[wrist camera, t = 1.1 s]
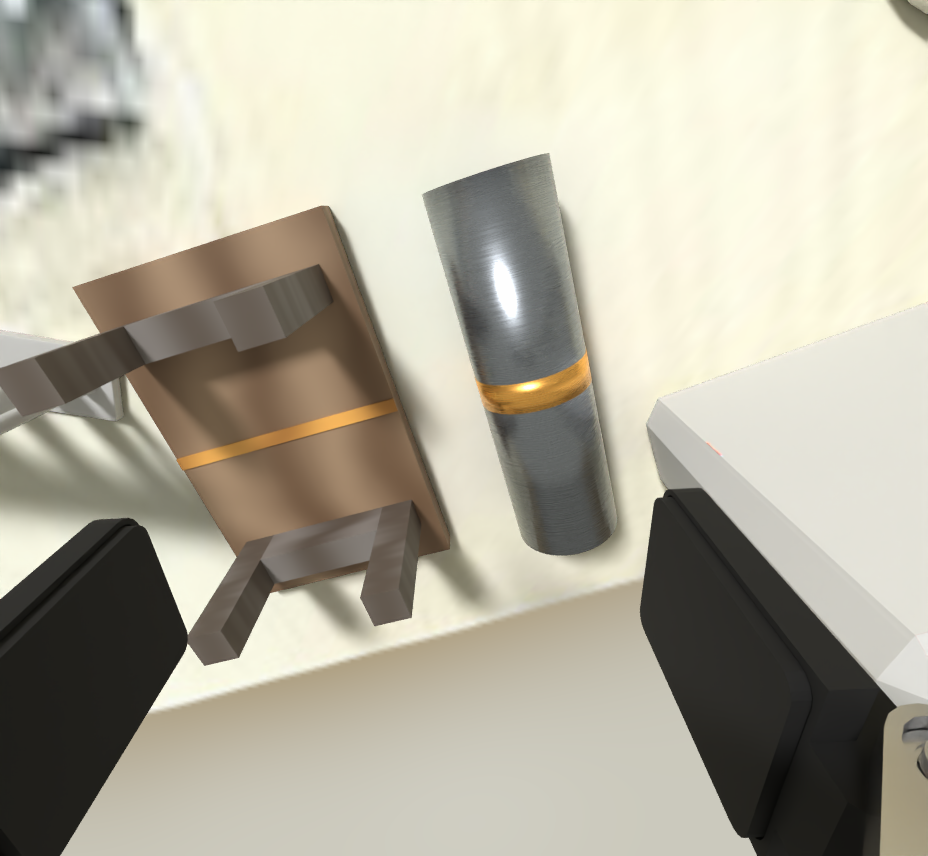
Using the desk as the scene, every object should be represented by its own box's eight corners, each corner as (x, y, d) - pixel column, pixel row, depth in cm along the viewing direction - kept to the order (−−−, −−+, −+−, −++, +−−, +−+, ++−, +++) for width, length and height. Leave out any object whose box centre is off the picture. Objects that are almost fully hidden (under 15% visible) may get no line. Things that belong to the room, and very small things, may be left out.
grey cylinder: (538, 160, 24) (562, 145, 19) (601, 485, 32) (631, 540, 27) (425, 197, 25) (417, 193, 20) (514, 506, 33) (527, 565, 28)
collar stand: (328, 205, 25) (262, 203, 16) (450, 535, 34) (448, 646, 25) (91, 283, 26) (-84, 318, 18) (267, 580, 35) (207, 700, 27)
